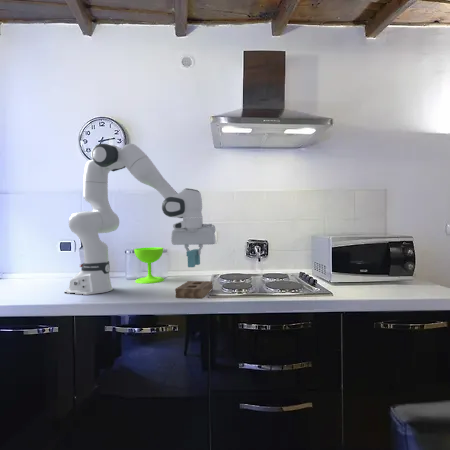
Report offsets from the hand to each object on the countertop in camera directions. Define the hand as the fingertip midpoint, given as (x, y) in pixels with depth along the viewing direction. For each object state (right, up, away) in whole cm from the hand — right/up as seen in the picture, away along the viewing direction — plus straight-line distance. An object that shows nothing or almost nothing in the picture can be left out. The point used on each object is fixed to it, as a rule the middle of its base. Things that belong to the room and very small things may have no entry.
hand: (193, 254), depth 162 cm
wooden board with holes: (0, -18, 0) cm, 18 cm away
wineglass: (-28, -18, +36) cm, 49 cm away
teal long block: (0, -5, 0) cm, 5 cm away
